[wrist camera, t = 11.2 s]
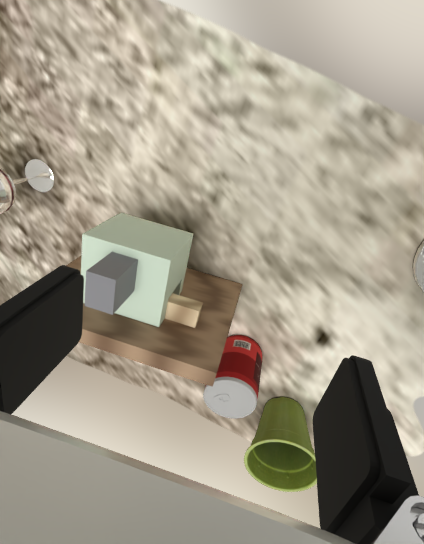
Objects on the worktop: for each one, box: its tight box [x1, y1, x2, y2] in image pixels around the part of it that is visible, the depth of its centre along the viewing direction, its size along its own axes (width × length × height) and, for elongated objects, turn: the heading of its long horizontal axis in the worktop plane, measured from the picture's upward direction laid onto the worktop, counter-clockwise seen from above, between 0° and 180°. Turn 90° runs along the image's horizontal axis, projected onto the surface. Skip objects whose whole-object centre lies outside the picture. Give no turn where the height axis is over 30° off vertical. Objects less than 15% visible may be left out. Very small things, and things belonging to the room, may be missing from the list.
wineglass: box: [0, 159, 54, 214], centre depth 45 cm, size 7×7×12 cm
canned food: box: [203, 335, 262, 418], centre depth 52 cm, size 8×8×11 cm
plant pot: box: [244, 397, 317, 492], centre depth 56 cm, size 12×12×11 cm
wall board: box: [67, 255, 242, 387], centre depth 45 cm, size 24×10×20 cm, turn 77°
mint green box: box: [81, 213, 193, 327], centre depth 38 cm, size 10×9×14 cm
